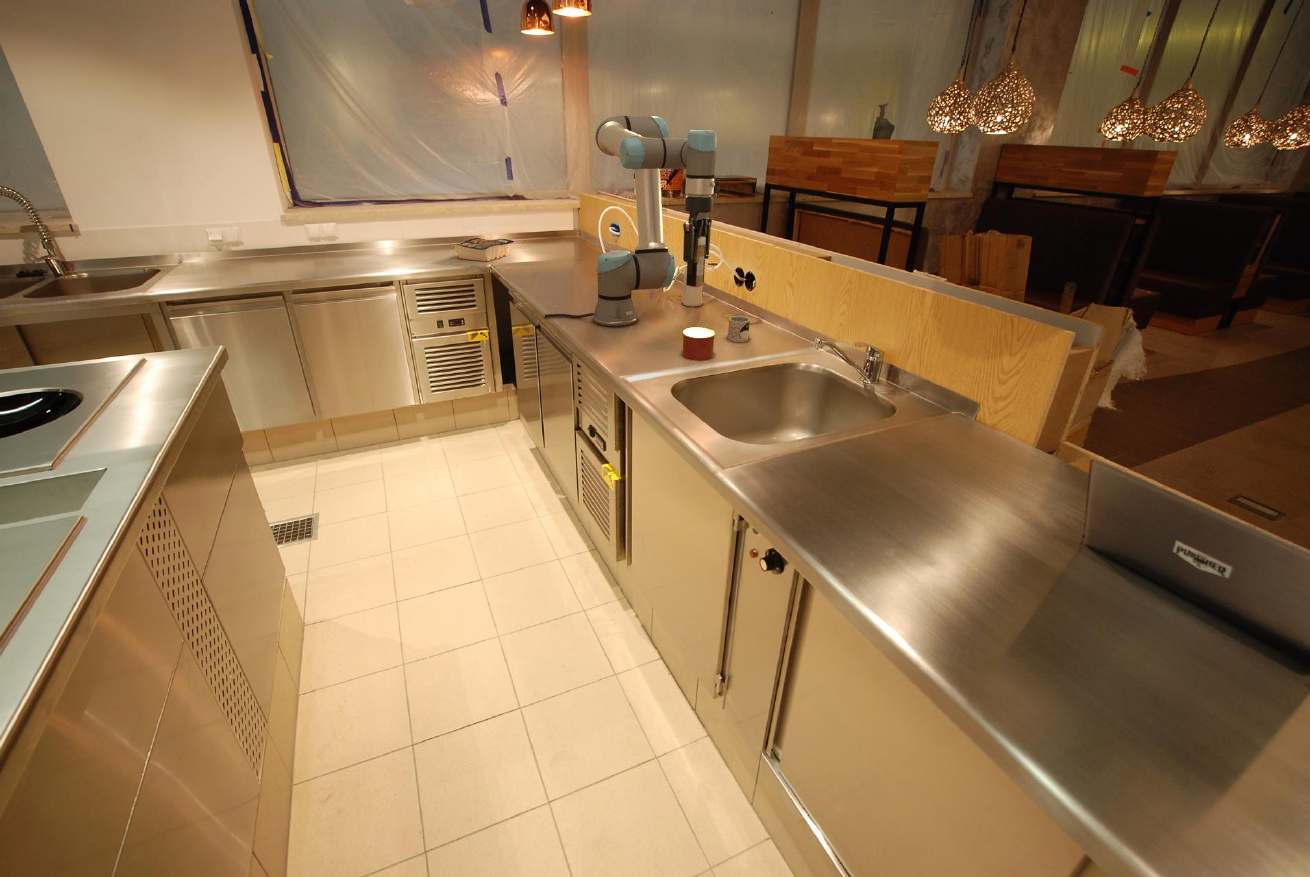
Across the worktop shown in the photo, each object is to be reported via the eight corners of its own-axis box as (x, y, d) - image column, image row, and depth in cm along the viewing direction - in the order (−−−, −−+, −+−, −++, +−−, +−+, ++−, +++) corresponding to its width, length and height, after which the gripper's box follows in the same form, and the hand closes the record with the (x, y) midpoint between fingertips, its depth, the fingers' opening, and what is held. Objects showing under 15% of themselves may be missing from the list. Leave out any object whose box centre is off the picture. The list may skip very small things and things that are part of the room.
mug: (742, 343, 184) (744, 323, 180) (724, 339, 187) (725, 319, 183) (755, 335, 191) (757, 315, 188) (737, 331, 194) (738, 312, 191)
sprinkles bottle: (683, 286, 164) (685, 236, 157) (693, 283, 167) (695, 235, 160) (696, 288, 161) (699, 238, 155) (706, 285, 164) (709, 236, 158)
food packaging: (478, 236, 306) (514, 239, 299) (480, 251, 310) (516, 254, 303) (447, 244, 286) (486, 247, 279) (450, 259, 289) (487, 263, 282)
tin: (677, 356, 172) (677, 334, 169) (690, 347, 180) (691, 325, 176) (705, 362, 168) (706, 339, 165) (718, 352, 176) (719, 330, 172)
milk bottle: (700, 307, 220) (703, 253, 210) (681, 306, 221) (683, 252, 211) (703, 302, 226) (706, 250, 217) (684, 301, 227) (686, 249, 218)
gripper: (697, 199, 144) (693, 292, 155) (725, 194, 158) (719, 279, 169) (671, 197, 147) (669, 288, 159) (700, 192, 161) (696, 276, 172)
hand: (695, 283), depth 164 cm, fingers closed on sprinkles bottle, 4 cm apart
